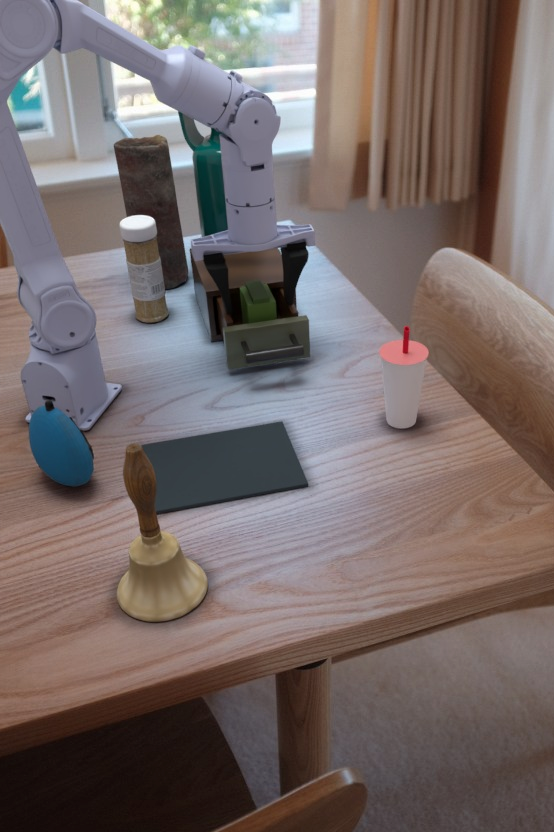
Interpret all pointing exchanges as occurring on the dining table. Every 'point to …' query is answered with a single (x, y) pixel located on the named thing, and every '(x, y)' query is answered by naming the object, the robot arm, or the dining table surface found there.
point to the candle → (154, 198)
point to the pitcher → (207, 176)
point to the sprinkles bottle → (144, 267)
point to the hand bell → (155, 555)
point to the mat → (223, 466)
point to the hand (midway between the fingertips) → (258, 306)
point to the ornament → (60, 446)
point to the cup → (402, 379)
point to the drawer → (262, 334)
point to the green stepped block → (257, 303)
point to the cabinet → (235, 280)
